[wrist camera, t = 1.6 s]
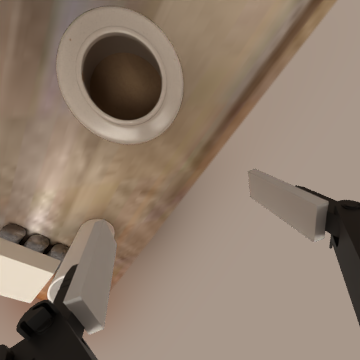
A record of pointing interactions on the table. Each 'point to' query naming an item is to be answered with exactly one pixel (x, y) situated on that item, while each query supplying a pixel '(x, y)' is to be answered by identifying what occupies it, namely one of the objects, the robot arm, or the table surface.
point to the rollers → (34, 242)
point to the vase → (119, 75)
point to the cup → (73, 255)
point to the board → (23, 271)
